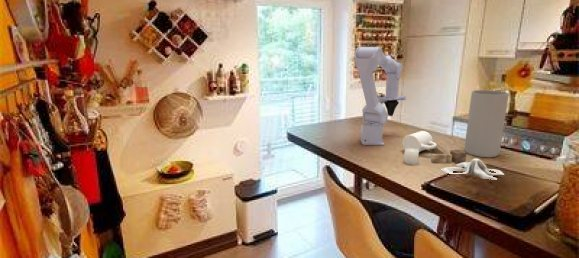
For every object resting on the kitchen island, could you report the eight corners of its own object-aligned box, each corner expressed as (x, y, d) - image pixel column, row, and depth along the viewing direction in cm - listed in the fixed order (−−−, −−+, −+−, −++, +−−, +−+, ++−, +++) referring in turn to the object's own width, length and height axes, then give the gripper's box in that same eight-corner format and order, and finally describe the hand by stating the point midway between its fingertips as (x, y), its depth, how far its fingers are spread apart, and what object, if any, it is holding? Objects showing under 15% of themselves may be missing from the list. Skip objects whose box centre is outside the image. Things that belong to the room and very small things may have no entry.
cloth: (433, 174, 115) (435, 158, 113) (455, 161, 126) (457, 146, 125) (506, 196, 98) (509, 177, 97) (523, 178, 110) (527, 161, 109)
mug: (401, 151, 138) (402, 133, 136) (414, 146, 144) (416, 129, 142) (427, 159, 128) (429, 139, 126) (441, 153, 134) (443, 135, 132)
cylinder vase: (498, 150, 136) (508, 91, 130) (499, 160, 126) (509, 95, 120) (464, 146, 143) (472, 89, 136) (463, 154, 132) (471, 93, 126)
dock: (432, 162, 124) (433, 155, 124) (412, 144, 146) (413, 137, 146) (451, 162, 124) (452, 155, 123) (428, 144, 146) (429, 137, 145)
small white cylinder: (406, 164, 123) (407, 152, 122) (402, 160, 128) (403, 147, 126) (419, 164, 123) (420, 152, 121) (415, 160, 127) (416, 147, 126)
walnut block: (455, 163, 123) (457, 153, 122) (449, 160, 127) (450, 150, 126) (465, 162, 124) (466, 152, 123) (458, 159, 128) (459, 149, 127)
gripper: (383, 89, 149) (381, 118, 152) (410, 87, 153) (408, 116, 157) (375, 87, 155) (373, 115, 159) (401, 86, 160) (399, 113, 163)
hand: (390, 115), depth 158 cm, fingers closed
